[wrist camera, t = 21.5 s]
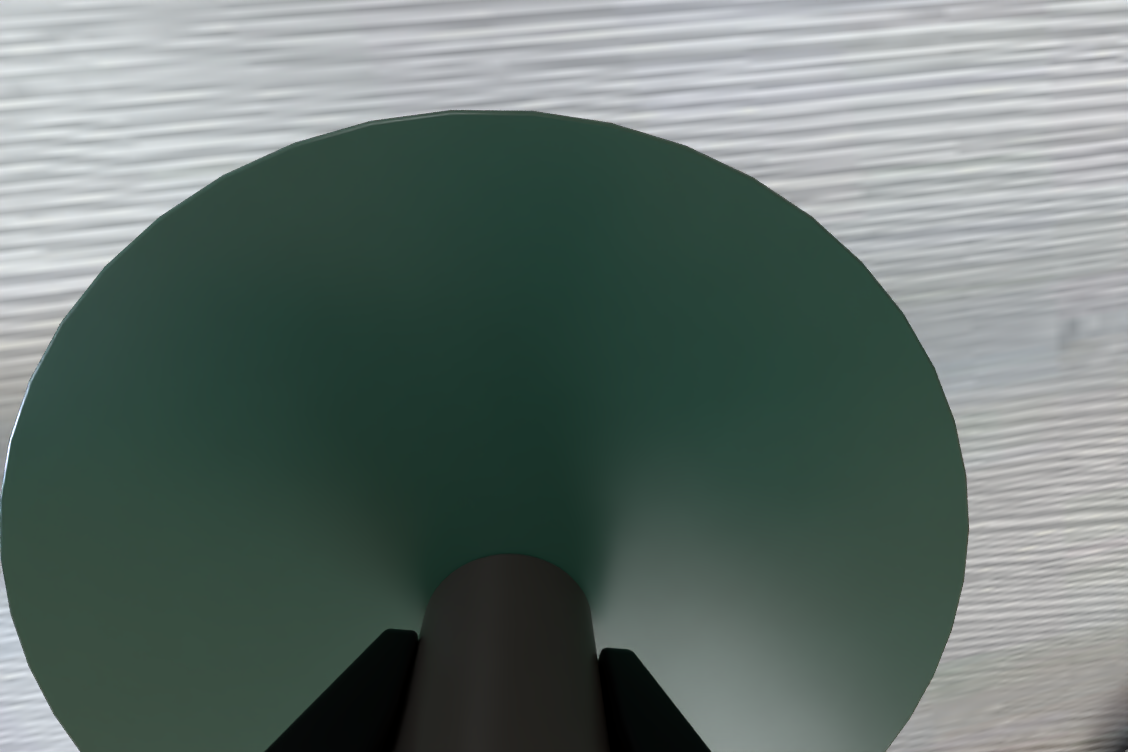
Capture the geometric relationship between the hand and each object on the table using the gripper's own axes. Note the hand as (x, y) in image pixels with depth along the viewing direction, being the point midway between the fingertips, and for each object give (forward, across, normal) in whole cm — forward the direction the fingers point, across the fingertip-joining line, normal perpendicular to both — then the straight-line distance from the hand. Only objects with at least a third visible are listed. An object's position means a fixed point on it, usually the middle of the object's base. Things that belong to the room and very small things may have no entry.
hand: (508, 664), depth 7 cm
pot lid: (+1, 0, 0) cm, 1 cm away
